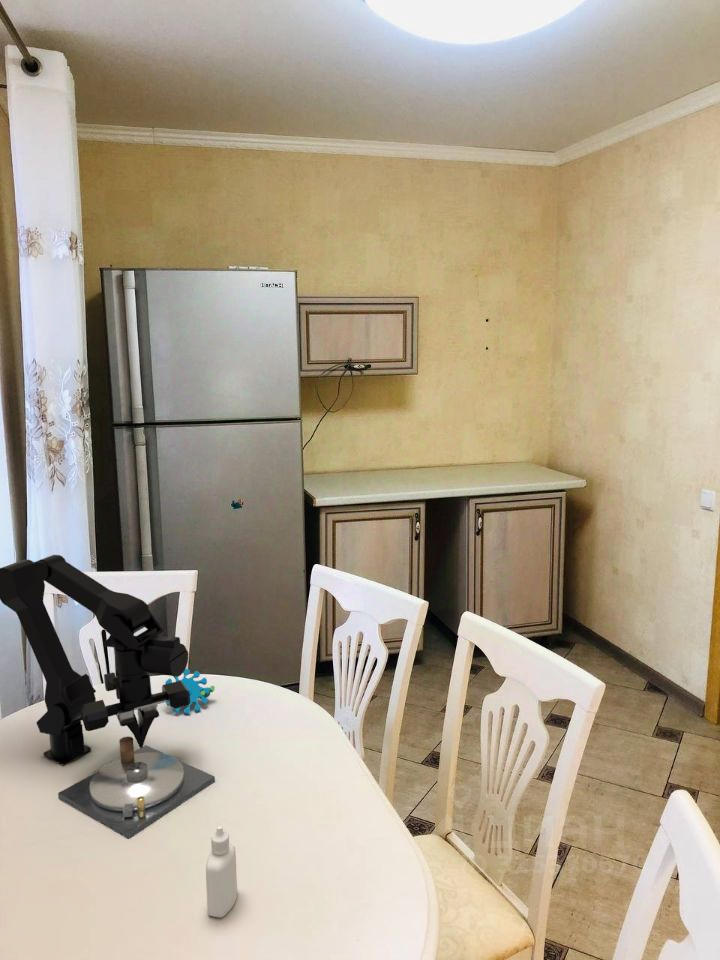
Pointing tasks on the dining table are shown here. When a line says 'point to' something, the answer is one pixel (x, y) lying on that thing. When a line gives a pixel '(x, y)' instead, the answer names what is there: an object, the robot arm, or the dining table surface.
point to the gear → (193, 690)
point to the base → (142, 816)
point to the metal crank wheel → (135, 779)
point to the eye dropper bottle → (221, 875)
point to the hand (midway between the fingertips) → (140, 746)
